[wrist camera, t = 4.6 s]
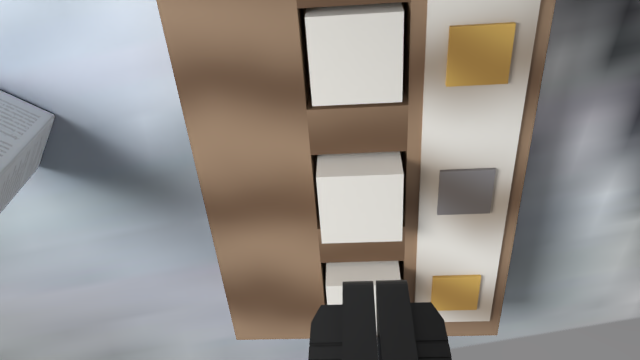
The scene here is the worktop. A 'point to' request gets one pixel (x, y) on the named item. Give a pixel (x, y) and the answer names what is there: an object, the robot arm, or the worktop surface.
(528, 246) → the worktop surface
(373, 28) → the button
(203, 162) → the button board
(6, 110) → the skincare box
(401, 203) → the button middle
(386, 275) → the button
